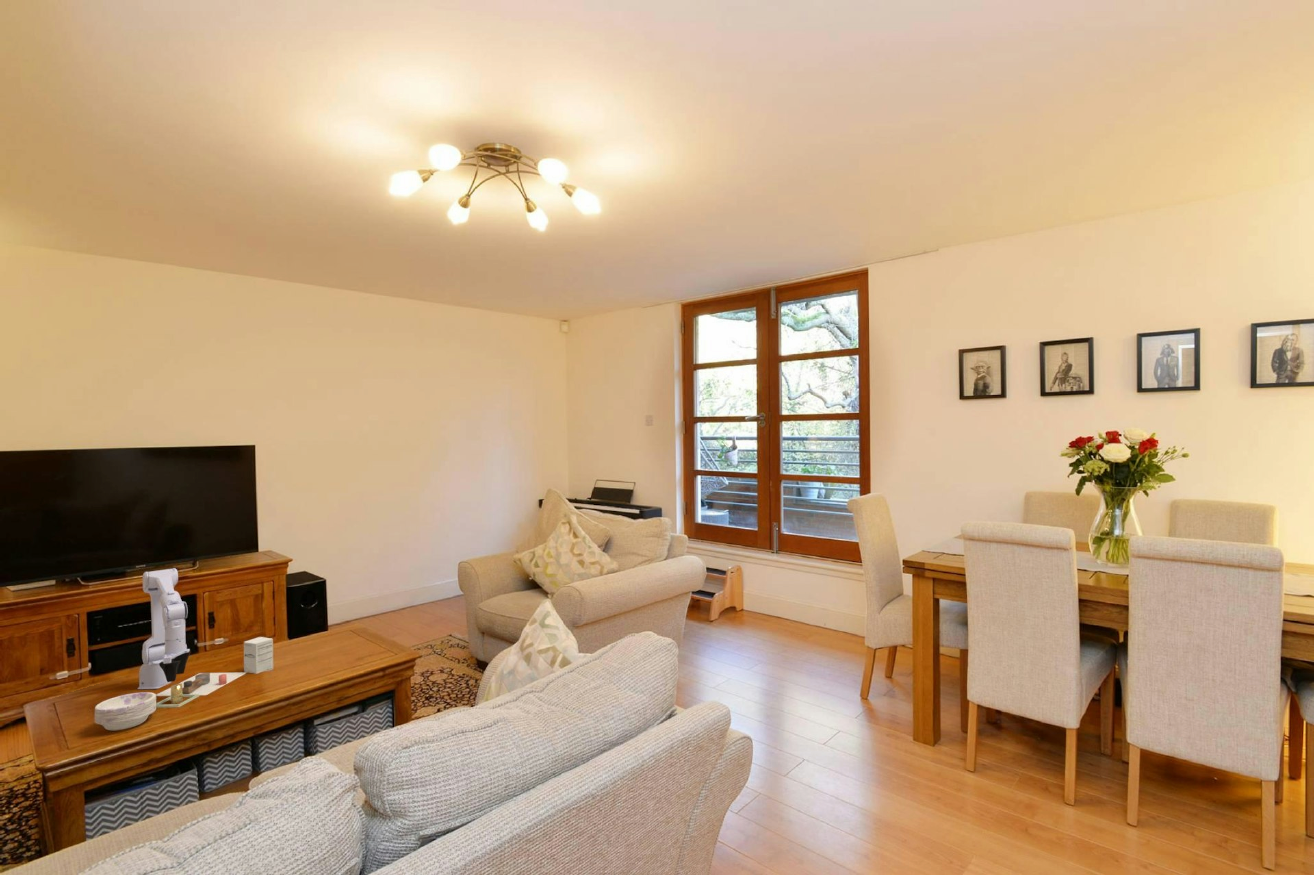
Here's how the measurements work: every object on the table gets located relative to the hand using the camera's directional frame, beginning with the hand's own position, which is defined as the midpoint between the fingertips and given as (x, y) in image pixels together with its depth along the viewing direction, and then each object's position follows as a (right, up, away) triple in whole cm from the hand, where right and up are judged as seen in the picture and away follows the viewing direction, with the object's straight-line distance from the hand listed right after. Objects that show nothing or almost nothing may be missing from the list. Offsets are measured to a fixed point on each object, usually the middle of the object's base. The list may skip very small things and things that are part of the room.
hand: (175, 677), depth 217 cm
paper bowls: (-4, -9, -16) cm, 19 cm away
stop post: (+5, -9, +16) cm, 19 cm away
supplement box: (+10, -10, +30) cm, 33 cm away
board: (-3, -10, +16) cm, 19 cm away
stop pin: (0, -9, 0) cm, 9 cm away
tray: (0, -9, 0) cm, 9 cm away
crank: (-2, -8, +12) cm, 15 cm away
